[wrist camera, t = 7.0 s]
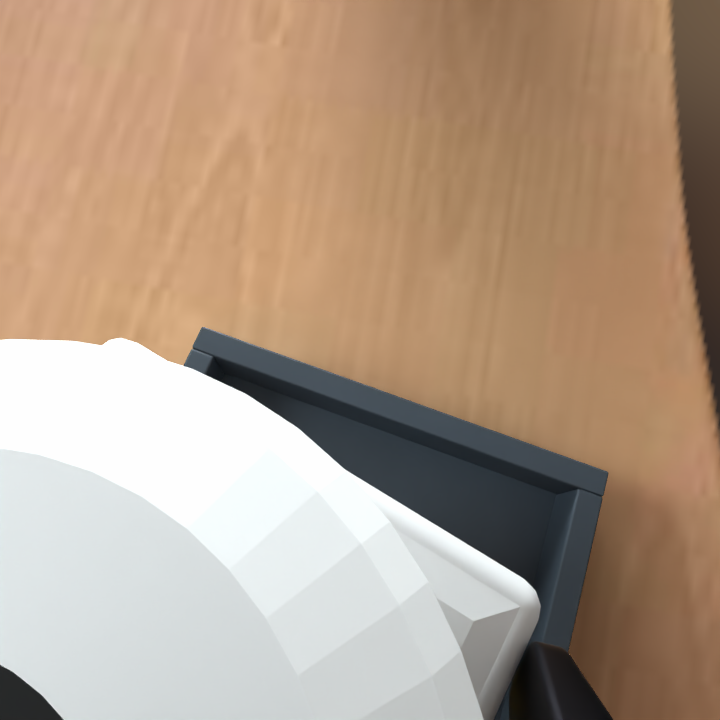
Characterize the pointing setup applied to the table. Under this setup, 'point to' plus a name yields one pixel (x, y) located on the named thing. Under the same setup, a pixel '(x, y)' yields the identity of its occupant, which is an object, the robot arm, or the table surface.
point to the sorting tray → (437, 471)
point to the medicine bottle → (221, 561)
